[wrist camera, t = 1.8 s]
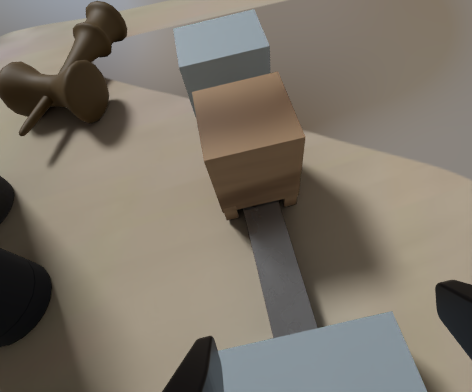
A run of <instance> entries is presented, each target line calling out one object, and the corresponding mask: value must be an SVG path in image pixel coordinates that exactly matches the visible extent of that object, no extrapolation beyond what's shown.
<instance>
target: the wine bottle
mask: <svg viewBox="0 0 472 392" xmlns="http://www.w3.org/2000/svg"><path fill="white" fill-rule="evenodd" d="M51 288H52V287H51V282H50V276H49V275H48V273H47V272H46V270H45V269H44V268H43V267H42V266H40V265H38V264H36V263H34V262H32V261H30V260H27V259H25V258H23V257H20V256H18V255H16V254H13V253H11V252H8V251H6V250H4V249H1V248H0V347H2V346H6V345H10V344H12V343H14V342H16V341H17V340H19V339H21V338H23V337H24V336H25V335H26V334H27V333H28V332H30V331H31V330H32V329H33V328H34V327H35V326H36V324H37V323H38V322H39V320H40V319H41V317H42V316H43V315H44V313H45V311H46V308H47V306H48V303H49V301H50V295H51Z"/></svg>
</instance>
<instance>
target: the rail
mask: <svg viewBox="0 0 472 392" xmlns="http://www.w3.org/2000/svg"><path fill="white" fill-rule="evenodd" d="M243 210H244V215H245V219H246V223H247V227H248V232H249V236H250V240H251V244H252V249H253V253H254V257H255V261H256V266H257V270H258V274H259V278H260V283H261V287H262V291H263V295H264V300H265V304H266V308H267V312H268V316H269V321H270V325H271V329H272V333H273V338H277V337H281V336H286V335H290V334H295V333H299V332H303V331H308V330H312V329H316V328H317V324H316V321H315V318H314V315H313V311H312V308H311V305H310V302H309V299H308V295H307V292H306V289H305V286H304V282H303V279H302V276H301V273H300V270H299V266H298V263H297V260H296V257H295V253H294V250H293V247H292V244H291V240H290V237H289V234H288V231H287V228H286V224H285V221H284V218H283V215H282V211H281V208H280V205H279V202H278V200H276V201H272V202H268V203H264V204H259V205H255V206H251V207H246V208H243Z"/></svg>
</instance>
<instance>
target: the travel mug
mask: <svg viewBox="0 0 472 392" xmlns="http://www.w3.org/2000/svg"><path fill="white" fill-rule="evenodd" d="M13 198H14V192H13V189H12V187H11V185H10V184H9V183H8V182H7V181H6V180H5V179H4V178H2V177H1V176H0V223H1V222H2V221H3V220H4V218H5V217H6V216H7V214H8V212H9V211H10V209H11V206H12V203H13Z"/></svg>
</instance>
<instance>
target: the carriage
mask: <svg viewBox="0 0 472 392" xmlns="http://www.w3.org/2000/svg"><path fill="white" fill-rule="evenodd" d="M192 95H193V101H194V107H195V113H196V118H197V124H198V130H199V135H200V141H201V147H202V152H203V158H204V162H205V165H206V168H207V171H208V173H209V176H210V179H211V182H212V184H213V187H214V190H215V193H216V195H217V198H218V201H219V203H220V206H221V209H222V212H223V213H225V216H226V219H227V220H230V219H235V218H239V216H238V211H237V210H238V209H242V208H246V207H251V206H255V205H259V204H264V203H268V202H272V201H276V200H281V199H282V201H283V204H284V207H286V206H290V205H295V204H296V203H297V196H298V195H299V187H300V179H301V170H302V162H303V153H304V144H305V135H304V133H303V130H302V128H301V126H300V123H299V121H298V119H297V116H296V113H295V111H294V109H293V106H292V104H291V101H290V99H289V97H288V94H287V92H286V90H285V87H284V85H283V82H282V80H281V77H280V75H279V73H278V72H274V73H269V74H265V75H261V76H257V77H253V78H248V79H244V80H240V81H236V82H232V83H227V84H223V85H219V86H215V87H211V88H206V89H202V90H198V91H194V92H192Z"/></svg>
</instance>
